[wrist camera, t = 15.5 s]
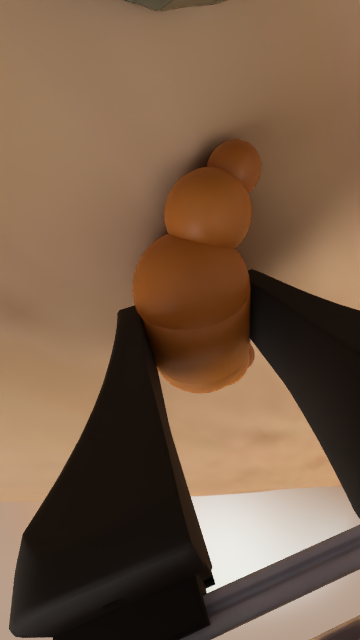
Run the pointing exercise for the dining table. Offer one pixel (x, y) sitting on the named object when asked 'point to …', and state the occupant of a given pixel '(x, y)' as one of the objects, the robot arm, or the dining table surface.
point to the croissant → (202, 275)
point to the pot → (173, 3)
